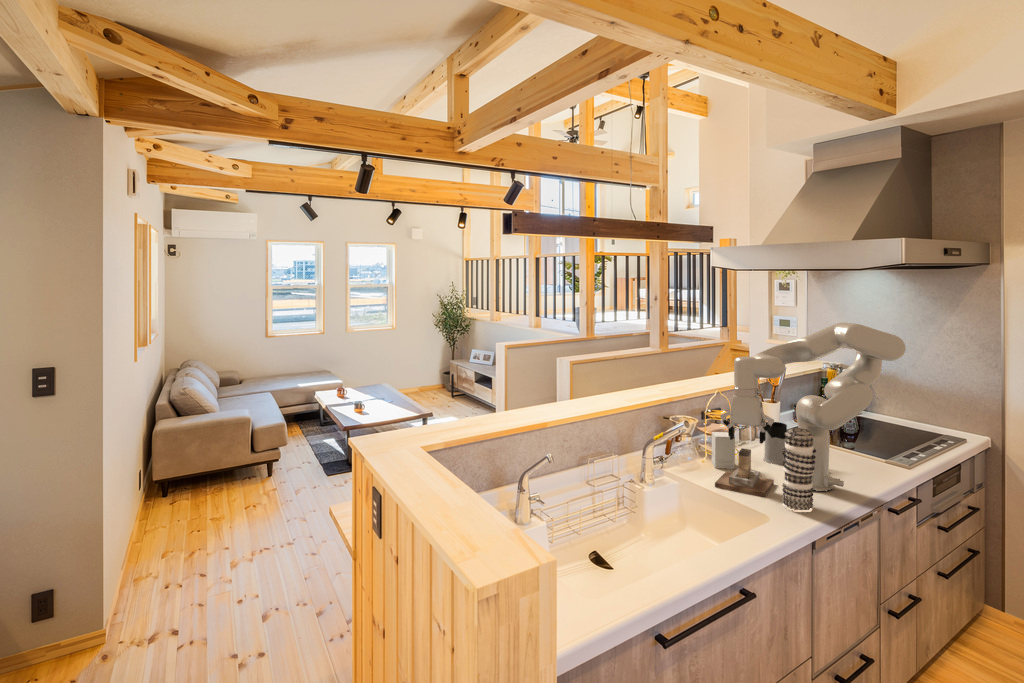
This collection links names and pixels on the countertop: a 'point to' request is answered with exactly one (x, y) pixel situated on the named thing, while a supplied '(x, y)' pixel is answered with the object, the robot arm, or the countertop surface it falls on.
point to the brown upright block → (744, 463)
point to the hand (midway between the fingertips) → (746, 440)
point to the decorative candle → (798, 469)
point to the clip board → (745, 483)
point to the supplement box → (723, 450)
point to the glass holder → (775, 443)
